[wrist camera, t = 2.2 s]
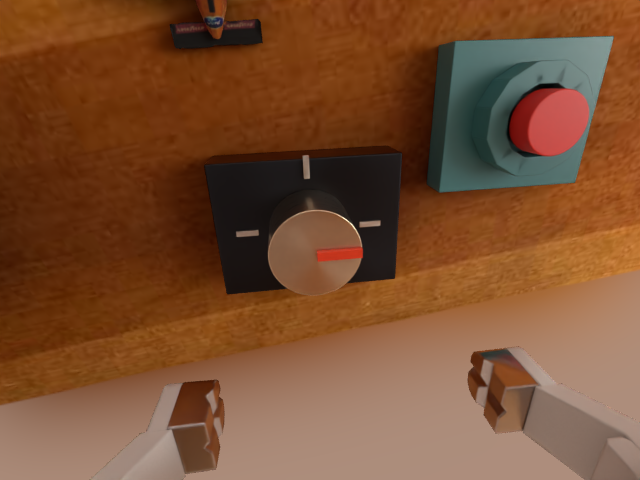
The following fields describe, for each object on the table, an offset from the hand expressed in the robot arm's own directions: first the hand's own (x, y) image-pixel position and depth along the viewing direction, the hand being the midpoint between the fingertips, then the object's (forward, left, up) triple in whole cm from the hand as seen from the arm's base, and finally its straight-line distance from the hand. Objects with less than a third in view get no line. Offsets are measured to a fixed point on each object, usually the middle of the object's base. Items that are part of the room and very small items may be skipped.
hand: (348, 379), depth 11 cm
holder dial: (0, 0, -13) cm, 13 cm away
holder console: (0, 0, -16) cm, 16 cm away
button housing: (+14, +6, -16) cm, 22 cm away
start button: (+14, +6, -12) cm, 19 cm away
